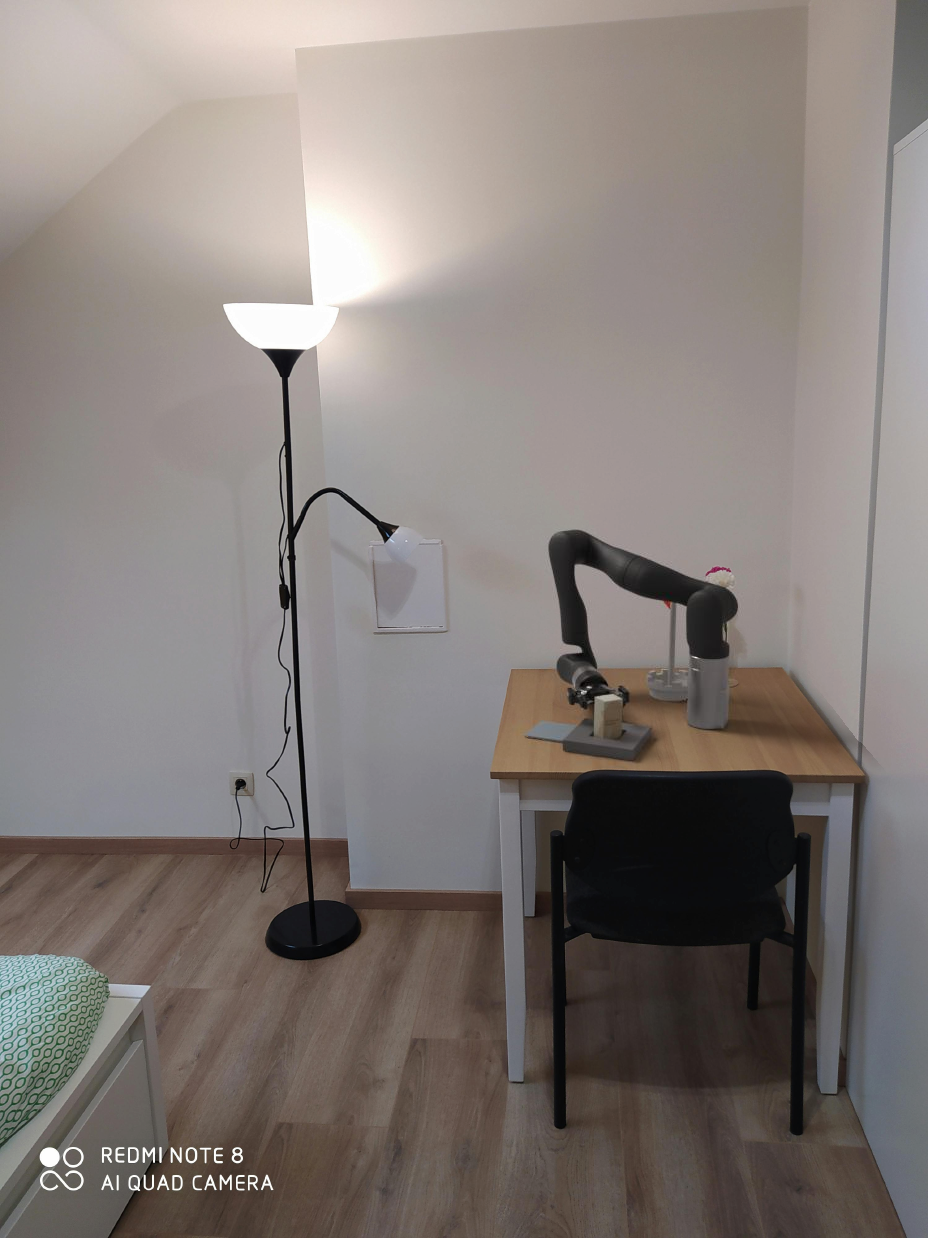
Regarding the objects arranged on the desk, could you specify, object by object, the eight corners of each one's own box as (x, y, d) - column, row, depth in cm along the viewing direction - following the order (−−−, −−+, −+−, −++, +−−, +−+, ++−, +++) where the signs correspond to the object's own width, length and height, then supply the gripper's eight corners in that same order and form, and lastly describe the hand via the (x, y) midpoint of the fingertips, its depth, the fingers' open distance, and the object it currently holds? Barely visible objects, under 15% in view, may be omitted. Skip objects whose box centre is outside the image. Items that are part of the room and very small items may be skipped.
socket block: (650, 736, 212) (651, 726, 211) (632, 760, 198) (632, 749, 197) (585, 727, 219) (585, 718, 218) (562, 750, 205) (562, 740, 204)
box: (602, 748, 205) (603, 701, 203) (592, 742, 209) (593, 696, 207) (622, 744, 207) (623, 698, 205) (612, 738, 211) (613, 693, 209)
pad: (580, 728, 219) (580, 726, 219) (565, 743, 209) (565, 741, 209) (541, 722, 223) (541, 720, 223) (524, 737, 213) (524, 735, 213)
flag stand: (706, 698, 239) (710, 585, 232) (664, 705, 234) (667, 590, 227) (676, 685, 251) (680, 577, 244) (636, 691, 246) (638, 582, 239)
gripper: (561, 671, 224) (573, 690, 209) (618, 668, 225) (635, 688, 210) (561, 700, 226) (573, 721, 210) (617, 697, 227) (634, 719, 211)
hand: (604, 704), depth 210 cm, fingers open, 8 cm apart
